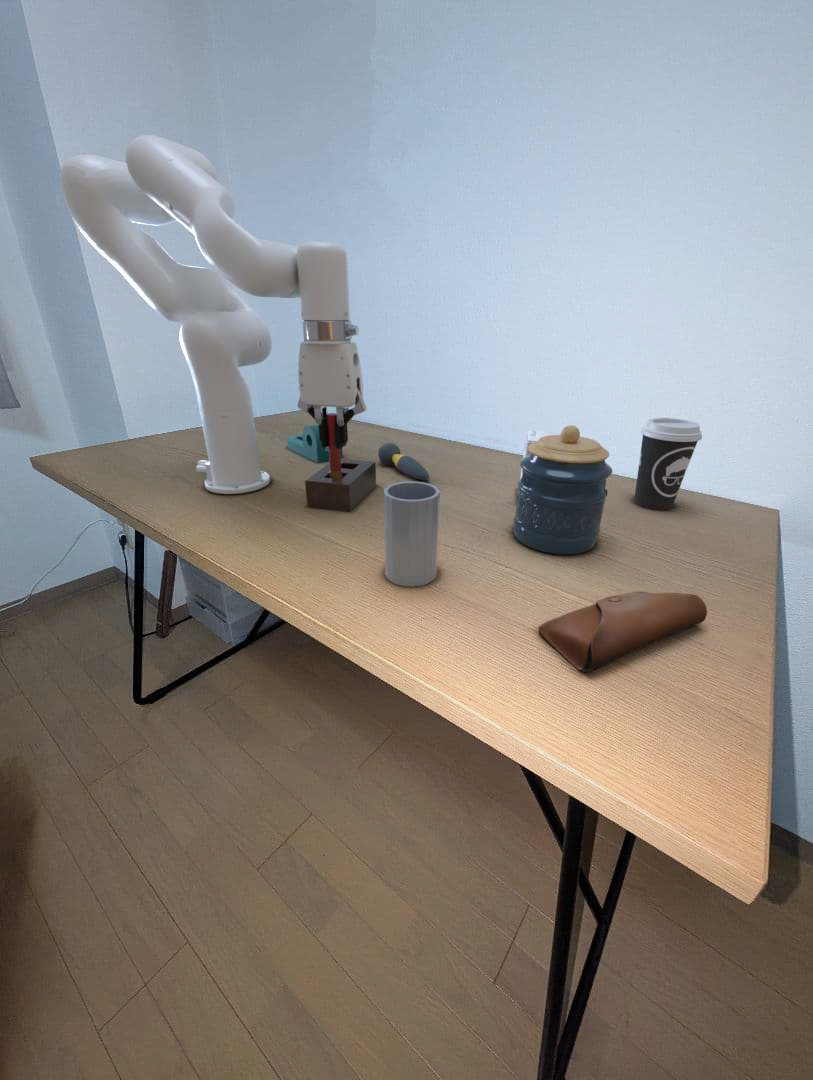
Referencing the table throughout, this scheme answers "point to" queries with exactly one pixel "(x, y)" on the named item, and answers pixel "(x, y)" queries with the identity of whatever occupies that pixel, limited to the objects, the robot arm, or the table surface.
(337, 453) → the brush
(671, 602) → the sunglasses case
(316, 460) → the bracket
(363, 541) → the table surface
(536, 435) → the ink box
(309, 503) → the holder
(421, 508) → the grey cylindrical cup
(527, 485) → the canister
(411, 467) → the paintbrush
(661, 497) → the coffee cup
